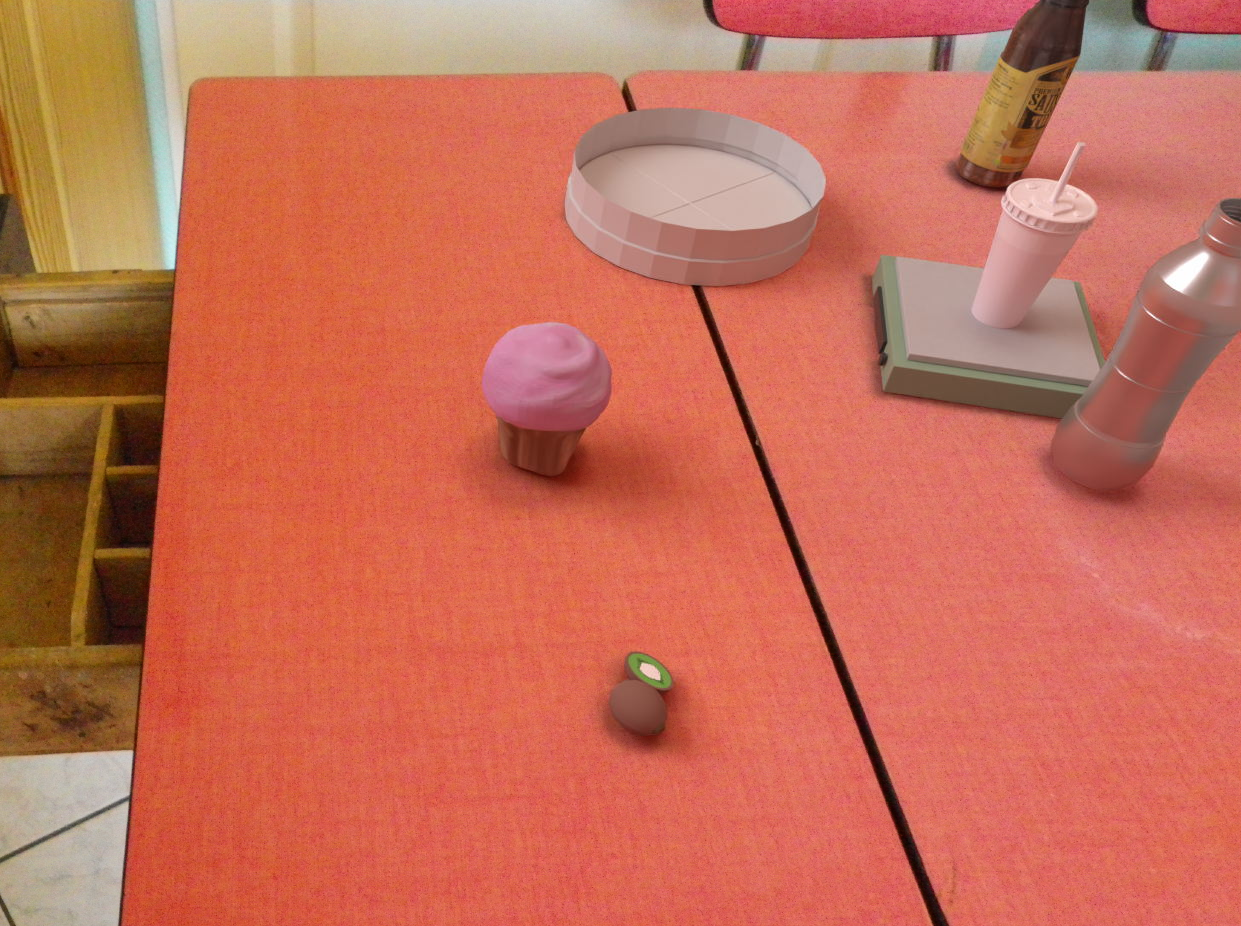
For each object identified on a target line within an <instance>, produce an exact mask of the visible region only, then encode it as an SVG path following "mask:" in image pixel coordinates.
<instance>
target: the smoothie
mask: <svg viewBox="0 0 1241 926" xmlns="http://www.w3.org/2000/svg"><path fill="white" fill-rule="evenodd" d="M1086 146H1087V144H1086V142H1083V141H1078V142H1077V143H1076V144H1075V147H1074V149H1073V151H1072V153H1071V155H1070V157H1069V159H1068V161H1067V163H1066V165H1065V168H1064V169H1063V172H1062V174H1061V175H1060V178H1059V180H1055V179H1048V178H1040V177H1032V178H1030V177H1027V178H1023V179H1019V180H1018V181H1016V182H1014V183H1012V184H1011V185H1009V186H1007V187H1006V191H1005V193H1004V195H1002V198H1001V201H1000V205H1001V208H1002V212H1001V214H1000V218H999V220H998V223H997V227H996V230H995V234H994V237H993V240H992V243H991V246H990V250H989V252H988V256H987V258H986V262H985V265H984V267H983V268H984V271H983V274H982V277H981V281H980V284H979V287H978V290H977V293H976V296H975V300H974V303H973V306H972V314H973V316H974V317H975V318H976V319H977V320H979V321H980V322H982V323H984V324H986V325H988V326H991V327H995V328H1001V329H1009V328H1014V327H1016V326H1018V325H1019V324H1020V322H1021V321H1022V319H1023V318H1024V316H1025V315H1026V314H1027V312H1028V311H1029V309H1030V308H1031V306H1032V305H1033V303H1034V302H1035V300H1036V299H1037V297H1038V296H1039V295H1040V293H1041V292H1042V290H1043V289H1044V287H1045V286H1046V284H1047V283H1048V281H1049V280H1050V279H1051V278H1053V276H1054V274H1055V272H1056V271H1057V270H1058V269H1059V267H1060V265H1061V264H1062V262H1063V261H1064V260H1065V259H1066V257H1067V255H1068V254H1069V253H1070V251H1071V249H1072V248H1073V247H1074V245H1075V244H1076V242H1077V241H1078V239H1079V238H1080V236H1081V235H1082V233H1083V232H1085V231H1088V230H1089V229H1090V228H1091V227H1092V226H1093V225H1094V222H1095V219H1096V217H1097V216H1098V213H1099V206H1098V204H1097V202H1096V200H1094V198H1093V197H1092V196H1091V195H1089V194H1088V193H1087V192H1085V191H1083V190H1082V189H1080V188H1078V187H1077V186H1073V185H1071V184H1069V183H1068V182H1069V180H1070V178H1071V177H1072V174H1073V172H1074V170H1075V168H1076V166H1077V164H1078V162H1079V160H1080V158H1081V155H1082V154H1083V152H1084V150H1085V147H1086Z"/></svg>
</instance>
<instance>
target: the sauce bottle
mask: <svg viewBox="0 0 1241 926" xmlns="http://www.w3.org/2000/svg"><path fill="white" fill-rule="evenodd" d="M1089 4H1090V0H1038V1H1037V2H1036V3H1035V4H1034V6H1033V7H1031V8H1030V9H1027V10H1026V12H1024V13H1023V15H1022V16H1020V17H1019V19H1018V20H1017V21H1016V23H1015V24H1014V26H1013V28H1012V30H1011V33H1010V34H1009V37H1008V39H1007V42H1006V45H1005V47H1004V49H1003V51H1002V52H1001V53H1000V55H999V57H998V60H997V62H996V64H995V67H994V69H993V71H992V74H991V76H990V79H989V80H988V83H987V85H986V88H985V89H984V93H983V95H982V97H981V99H980V102H979V104H978V106H977V108H976V111H975V114H974V116H973V118H972V121H971V123H970V126H969V128H968V130H967V133H966V134H965V137H964V140H963V142H962V144H961V147H960V154H959V156H958V157H957V160H956V163H955V167H956V171H957V173H958V174H959V175H960V177H961V178H963V179H965V180H967V181H969V182H971V183H974V184H976V185H978V186H982V187H990V188H1008V187H1009V185H1011V184H1012V183H1014V182H1016V181H1019V180H1020V179H1021V177H1022V175H1023V172H1024V171H1025V170H1026V168H1028V166H1029V164H1030V162H1031V160H1032V158H1033V157H1034V155H1035V152H1036V150H1037V147H1038V145H1039V143H1040V141H1041V139H1042V137H1043V136H1044V135H1043V134H1044V133H1045V131H1046V128H1047V126H1048V124H1049V122H1050V120H1051V118H1052V116H1053V114H1054V112H1055V109H1056V107H1057V105H1058V103H1059V101H1060V99H1061V97H1062V94H1063V93H1064V90H1065V88H1066V86H1067V84H1068V82H1069V80H1070V78H1071V75H1072V73H1073V71H1074V69H1075V67H1076V65H1077V63H1078V61H1079V59H1080V56H1081V55H1082V46H1083V39H1084V29H1085V22H1086V21H1085V20H1086V13H1087V7H1088V6H1089Z"/></svg>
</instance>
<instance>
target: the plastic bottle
mask: <svg viewBox="0 0 1241 926" xmlns="http://www.w3.org/2000/svg"><path fill="white" fill-rule="evenodd" d="M1197 231H1198V232H1197V233H1198V236H1199V237H1198V238H1196V239H1194V240H1192V241H1190V242H1187V243H1184V244H1182V245H1180V246H1178V247H1177V248H1175V249H1173V250H1171V251H1169V252H1168V253H1166V254H1164V255H1163V256H1161V257H1159V259H1157V260H1156V261H1155V262H1154V263H1153V264H1152V265H1151V266H1150V267H1149V268H1148V269H1147V271H1146V272H1145V274H1144V276H1143V278H1142V280H1141V282H1140V284H1139V286H1138V290H1137V292H1136V294H1135V296H1134V299H1133V301H1132V304H1131V307H1130V309H1129V312H1128V315H1127V317H1126V319H1125V322H1124V325H1123V327H1122V329H1121V331H1120V334H1119V335H1118V336H1117V339H1116V340H1115V343H1114V344H1113V348H1112V349H1111V351H1110V353H1109V354H1108V357H1107V359H1105V364H1104V365H1103V367H1102V368H1101V370H1100V371H1099V373H1098V374H1097V375H1096V377H1095V378H1094V380H1093V381H1092V382H1091V384H1090V385H1089V387H1088V388H1087V390H1086V391H1085V392H1084V394H1083V395H1082V397H1081V398H1080V399H1079V400H1077V401H1076V403H1075V404H1074V405H1073V406H1072V407H1071V408H1070V409H1069V410H1068V412H1067V413H1066V414H1065V415H1064V417H1063V418H1062V419H1061V418H1060V420H1059V422H1058V423H1057V425H1056V428H1055V431H1054V433H1053V436H1052V439H1051V443H1050V450H1051V455H1052V459H1053V462H1054V464H1055V466H1056V467H1057V469H1058V470H1059V472H1061V473H1062V474H1063V475H1064V476H1066V478H1068V479H1070V480H1071V481H1072V482H1074V483H1076V484H1078V485H1081V486H1083V487H1085V488H1088V489H1091V490H1095V491H1101V492H1116V491H1121V490H1124V489H1127V488H1129V487H1132V486H1134V485H1136V484H1137V483H1139V481H1141V480H1142V478H1144V476H1145V475H1147V474H1148V473H1149V471H1151V470H1152V468H1153V467H1154V466H1155V464H1156V461H1157V460H1158V458H1159V456H1160V453H1161V451H1162V449H1163V447H1164V444H1165V441H1166V438H1167V434H1168V432H1169V430H1170V428H1171V427H1172V425H1173V423H1174V421H1175V419H1176V417H1177V414H1179V411H1180V409H1181V408H1182V405H1184V402H1185V400H1186V399H1187V397H1188V395H1189V394H1190V392H1191V391H1192V390H1193V389H1194V387H1195V386H1196V385H1197V382H1199V380H1200V379H1201V378H1202V376H1203V375H1204V374H1205V372H1206V371H1207V370H1208V368H1209V367H1210V366H1211V365H1212V363H1213V362H1214V360H1216V359H1217V357H1219V355H1220V354H1221V353H1222V352H1223V351H1224V350H1225V348H1226V347H1227V346H1228V345H1229V344H1230V342H1232V340H1233V339H1234V338H1235V337H1236V336H1237V335H1238V334H1239V333H1240V332H1241V197H1225V198H1223V199H1220V200H1219V201H1218V203H1216V204H1215V206H1214V208H1213V209H1212V211H1211V213H1210V214H1209V216H1208V217H1207V219H1205V220H1203V222H1202V223H1201V225H1200V227H1199V229H1198V230H1197Z"/></svg>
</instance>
